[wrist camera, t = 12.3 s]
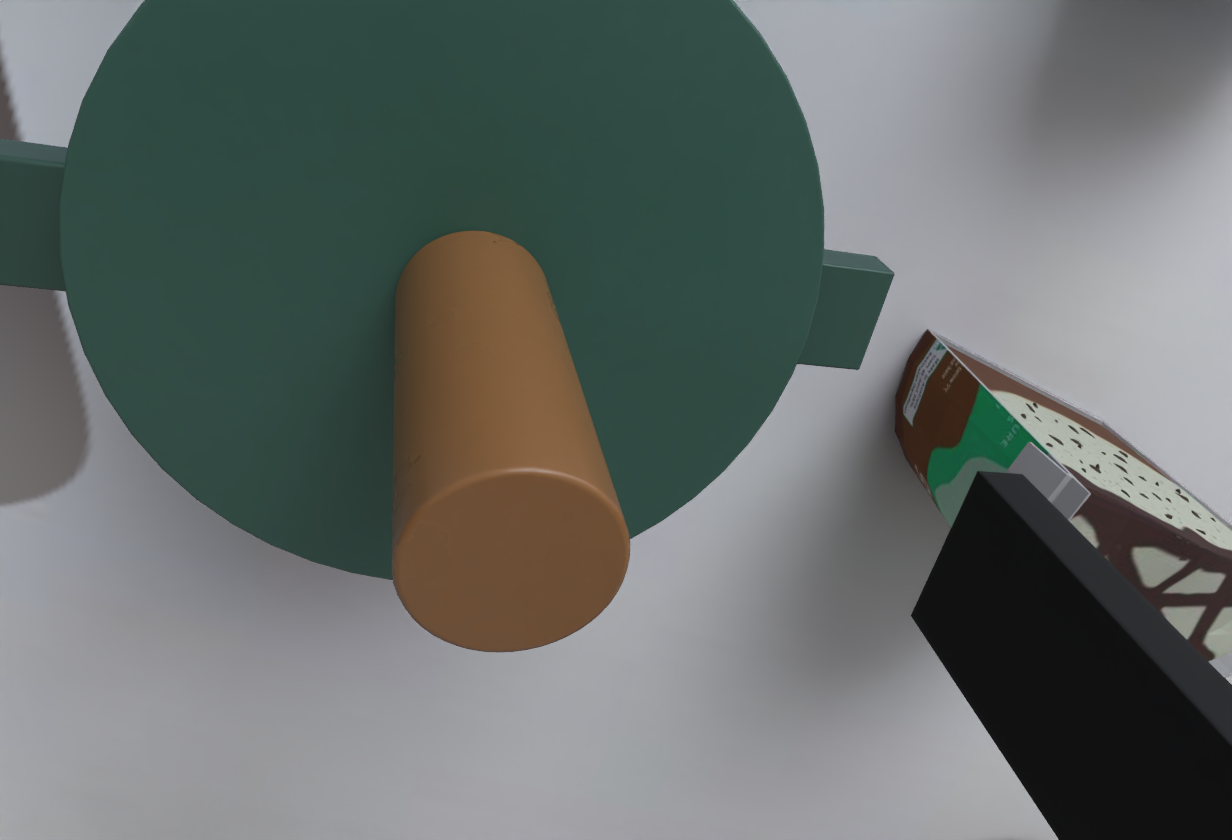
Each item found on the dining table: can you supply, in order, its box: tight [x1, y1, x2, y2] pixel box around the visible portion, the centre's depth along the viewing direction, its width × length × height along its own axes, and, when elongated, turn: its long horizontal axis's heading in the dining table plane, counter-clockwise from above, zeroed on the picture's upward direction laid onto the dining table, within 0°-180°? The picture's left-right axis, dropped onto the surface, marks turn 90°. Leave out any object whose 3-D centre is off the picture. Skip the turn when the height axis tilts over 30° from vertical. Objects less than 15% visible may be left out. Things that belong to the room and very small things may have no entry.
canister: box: [0, 139, 894, 370], centre depth 22 cm, size 13×18×10 cm
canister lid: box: [59, 0, 824, 652], centre depth 15 cm, size 14×14×9 cm
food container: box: [895, 329, 1232, 678], centre depth 31 cm, size 12×6×10 cm, turn 60°
